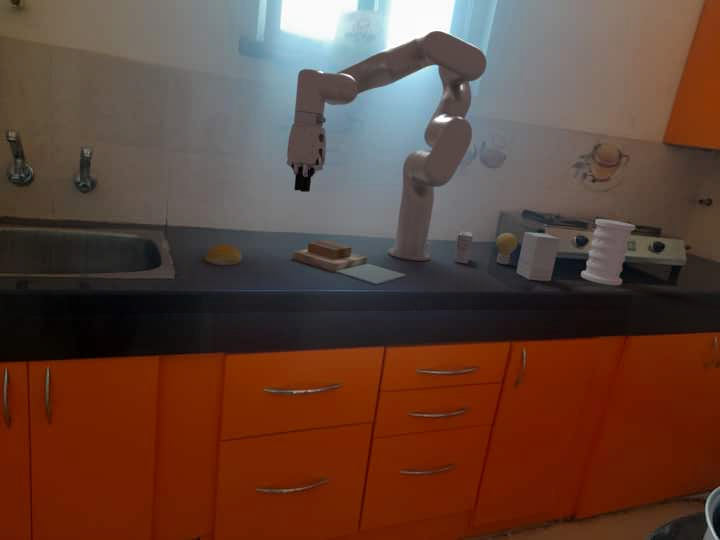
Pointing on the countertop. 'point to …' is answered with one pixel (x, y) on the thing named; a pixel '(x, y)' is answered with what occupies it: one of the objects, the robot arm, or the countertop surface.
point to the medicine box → (463, 247)
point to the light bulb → (505, 247)
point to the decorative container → (608, 252)
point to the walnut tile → (329, 249)
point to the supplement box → (537, 256)
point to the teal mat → (371, 273)
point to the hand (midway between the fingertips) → (302, 190)
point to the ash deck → (329, 260)
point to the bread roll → (223, 255)
